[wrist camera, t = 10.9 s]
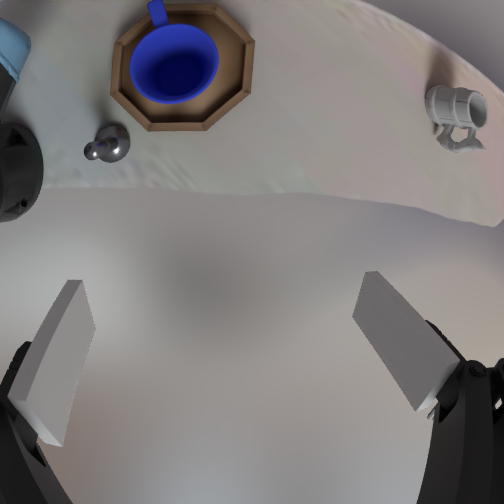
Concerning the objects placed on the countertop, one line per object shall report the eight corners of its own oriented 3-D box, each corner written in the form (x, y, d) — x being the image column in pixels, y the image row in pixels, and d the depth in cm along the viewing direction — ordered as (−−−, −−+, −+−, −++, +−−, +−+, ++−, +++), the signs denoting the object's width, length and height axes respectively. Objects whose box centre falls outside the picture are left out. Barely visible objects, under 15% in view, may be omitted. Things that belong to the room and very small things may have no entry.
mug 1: (195, 14, 26) (194, -17, 17) (221, 95, 32) (229, 87, 23) (132, 36, 26) (111, 12, 17) (157, 117, 32) (143, 117, 23)
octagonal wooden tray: (116, 132, 33) (108, 134, 30) (126, 16, 26) (120, 8, 23) (243, 131, 36) (247, 132, 33) (252, 16, 29) (258, 8, 26)
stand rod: (96, 162, 34) (73, 175, 27) (96, 127, 32) (71, 130, 25) (130, 160, 35) (113, 172, 28) (130, 124, 33) (113, 126, 26)
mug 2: (452, 93, 37) (501, 98, 27) (445, 151, 42) (493, 167, 32) (425, 78, 36) (477, 79, 25) (417, 141, 41) (468, 155, 30)
